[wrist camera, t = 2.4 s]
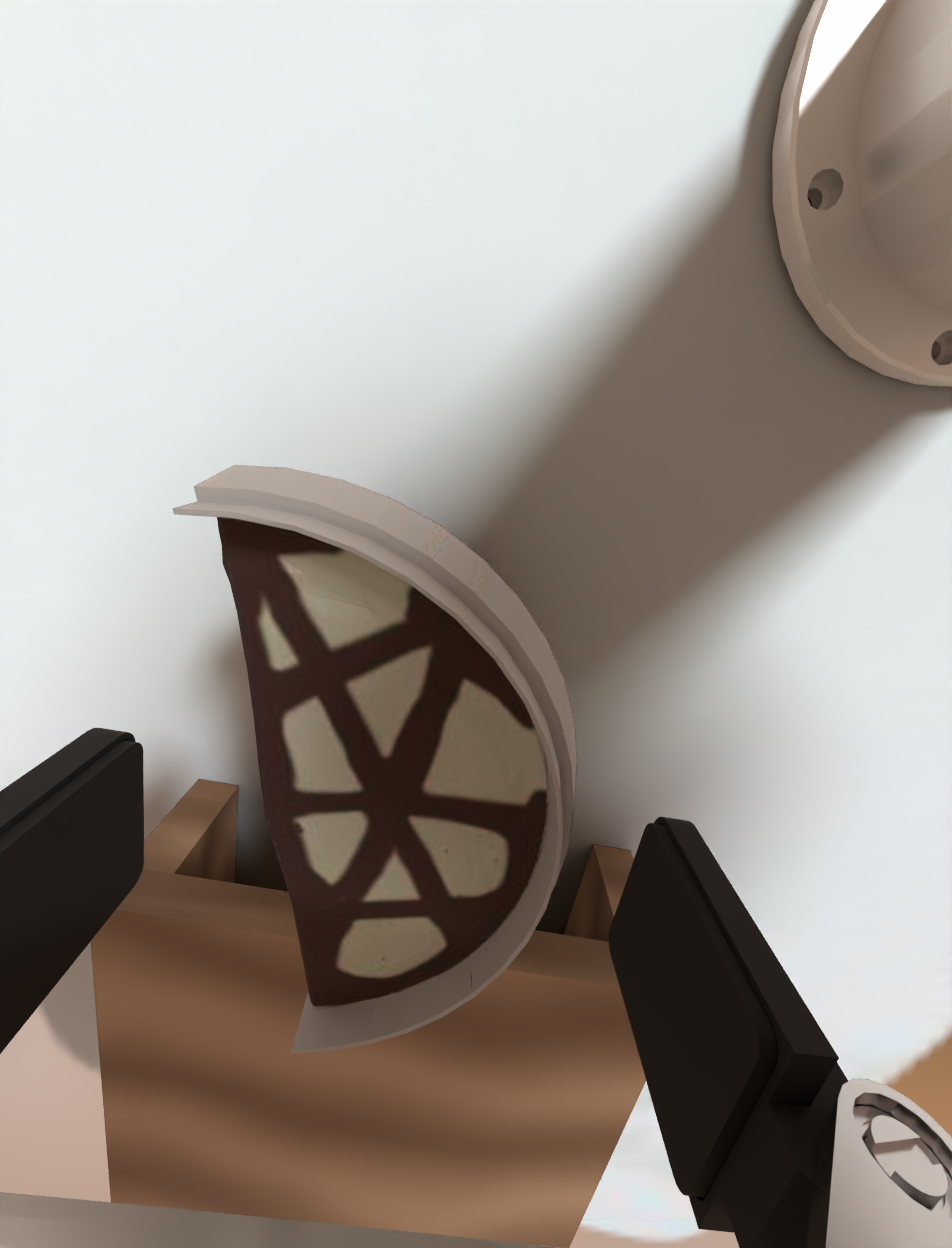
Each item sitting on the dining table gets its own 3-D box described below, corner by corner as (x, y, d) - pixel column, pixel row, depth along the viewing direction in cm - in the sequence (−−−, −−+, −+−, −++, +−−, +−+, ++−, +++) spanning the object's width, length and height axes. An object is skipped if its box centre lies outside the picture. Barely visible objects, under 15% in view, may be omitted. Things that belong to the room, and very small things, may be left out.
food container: (536, 779, 20) (583, 1069, 11) (383, 781, 20) (294, 1071, 11) (539, 453, 16) (620, 454, 7) (349, 459, 16) (163, 468, 7)
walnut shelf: (198, 779, 20) (88, 906, 15) (630, 850, 21) (684, 996, 15) (195, 1042, 25) (111, 1212, 20) (542, 1091, 26) (559, 1267, 21)
